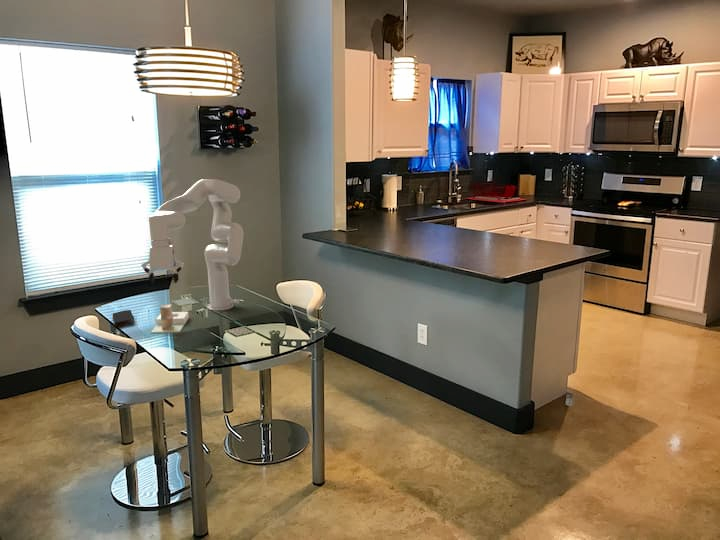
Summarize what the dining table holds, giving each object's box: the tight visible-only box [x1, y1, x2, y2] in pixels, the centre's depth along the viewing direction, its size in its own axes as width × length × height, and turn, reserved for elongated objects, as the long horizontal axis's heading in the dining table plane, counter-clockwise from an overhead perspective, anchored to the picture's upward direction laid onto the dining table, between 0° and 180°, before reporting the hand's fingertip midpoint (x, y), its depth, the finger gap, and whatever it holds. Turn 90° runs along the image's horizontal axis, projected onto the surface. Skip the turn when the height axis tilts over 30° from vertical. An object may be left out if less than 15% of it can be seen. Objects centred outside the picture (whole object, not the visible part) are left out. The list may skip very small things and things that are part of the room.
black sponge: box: [112, 309, 135, 328], centre depth 261 cm, size 16×8×4 cm, turn 27°
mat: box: [150, 324, 185, 334], centre depth 250 cm, size 12×9×1 cm
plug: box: [159, 304, 173, 330], centre depth 249 cm, size 4×4×10 cm
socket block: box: [155, 311, 190, 326], centre depth 260 cm, size 12×10×4 cm
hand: (164, 282), depth 245 cm, fingers open, 9 cm apart
